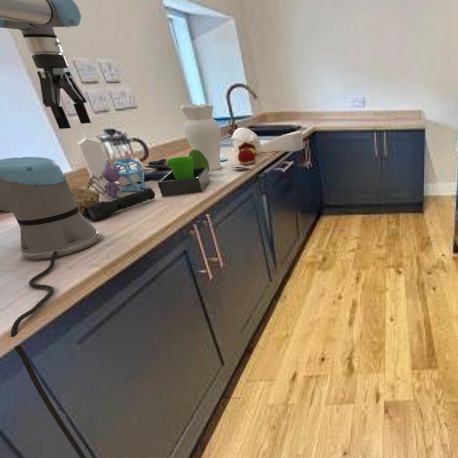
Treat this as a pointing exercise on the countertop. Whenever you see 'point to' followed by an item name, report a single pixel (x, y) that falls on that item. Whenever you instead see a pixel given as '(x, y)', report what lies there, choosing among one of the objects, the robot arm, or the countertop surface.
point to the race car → (158, 164)
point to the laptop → (240, 167)
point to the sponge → (85, 198)
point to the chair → (130, 172)
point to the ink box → (133, 177)
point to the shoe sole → (283, 143)
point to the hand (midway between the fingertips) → (76, 125)
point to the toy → (223, 159)
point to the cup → (181, 167)
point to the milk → (93, 160)
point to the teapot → (244, 139)
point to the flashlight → (117, 204)
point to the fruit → (198, 159)
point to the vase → (203, 132)
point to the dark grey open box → (184, 183)
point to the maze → (96, 184)
